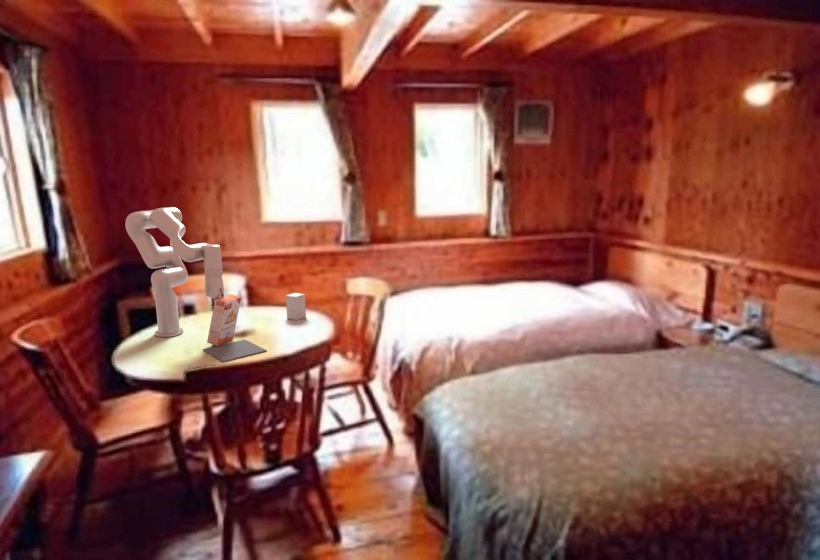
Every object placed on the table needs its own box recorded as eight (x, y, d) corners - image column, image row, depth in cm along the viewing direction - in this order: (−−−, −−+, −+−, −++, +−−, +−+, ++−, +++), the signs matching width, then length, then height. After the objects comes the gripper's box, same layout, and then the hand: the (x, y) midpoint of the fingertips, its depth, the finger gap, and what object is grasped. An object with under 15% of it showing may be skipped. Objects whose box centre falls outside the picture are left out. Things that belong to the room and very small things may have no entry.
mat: (202, 350, 246) (202, 348, 246) (245, 340, 260) (245, 339, 260) (223, 362, 232) (223, 360, 232) (266, 351, 246) (266, 350, 245)
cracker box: (218, 347, 249) (226, 302, 245) (206, 343, 249) (213, 298, 245) (234, 339, 262) (242, 296, 258) (222, 335, 263) (230, 293, 259)
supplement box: (306, 317, 298) (305, 294, 296) (296, 320, 292) (295, 297, 290) (296, 315, 302) (295, 292, 300) (286, 318, 296) (285, 295, 293)
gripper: (198, 271, 253) (201, 310, 257) (212, 275, 243) (216, 316, 247) (214, 268, 259) (217, 307, 262) (229, 273, 248) (232, 313, 252)
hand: (216, 311), depth 255 cm, fingers closed
